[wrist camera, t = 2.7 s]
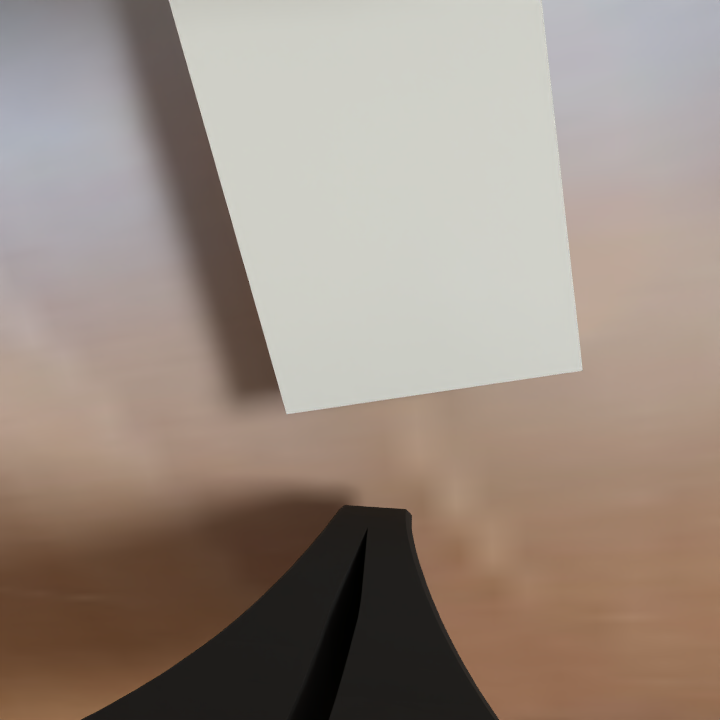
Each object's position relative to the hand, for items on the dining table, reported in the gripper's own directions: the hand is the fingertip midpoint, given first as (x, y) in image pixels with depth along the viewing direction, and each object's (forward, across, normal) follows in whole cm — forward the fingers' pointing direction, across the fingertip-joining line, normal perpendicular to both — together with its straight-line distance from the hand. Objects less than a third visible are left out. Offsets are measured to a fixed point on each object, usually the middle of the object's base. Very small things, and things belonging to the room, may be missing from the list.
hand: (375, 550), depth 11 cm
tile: (+2, 0, -8) cm, 8 cm away
